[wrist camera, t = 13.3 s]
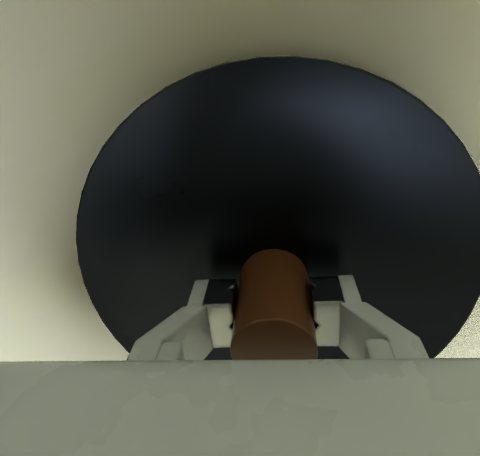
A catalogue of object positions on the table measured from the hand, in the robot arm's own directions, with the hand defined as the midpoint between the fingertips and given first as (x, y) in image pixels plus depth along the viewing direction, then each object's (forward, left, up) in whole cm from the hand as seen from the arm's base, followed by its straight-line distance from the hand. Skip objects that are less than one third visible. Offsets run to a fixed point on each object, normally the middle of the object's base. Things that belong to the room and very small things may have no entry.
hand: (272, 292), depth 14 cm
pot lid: (0, 0, -2) cm, 2 cm away
